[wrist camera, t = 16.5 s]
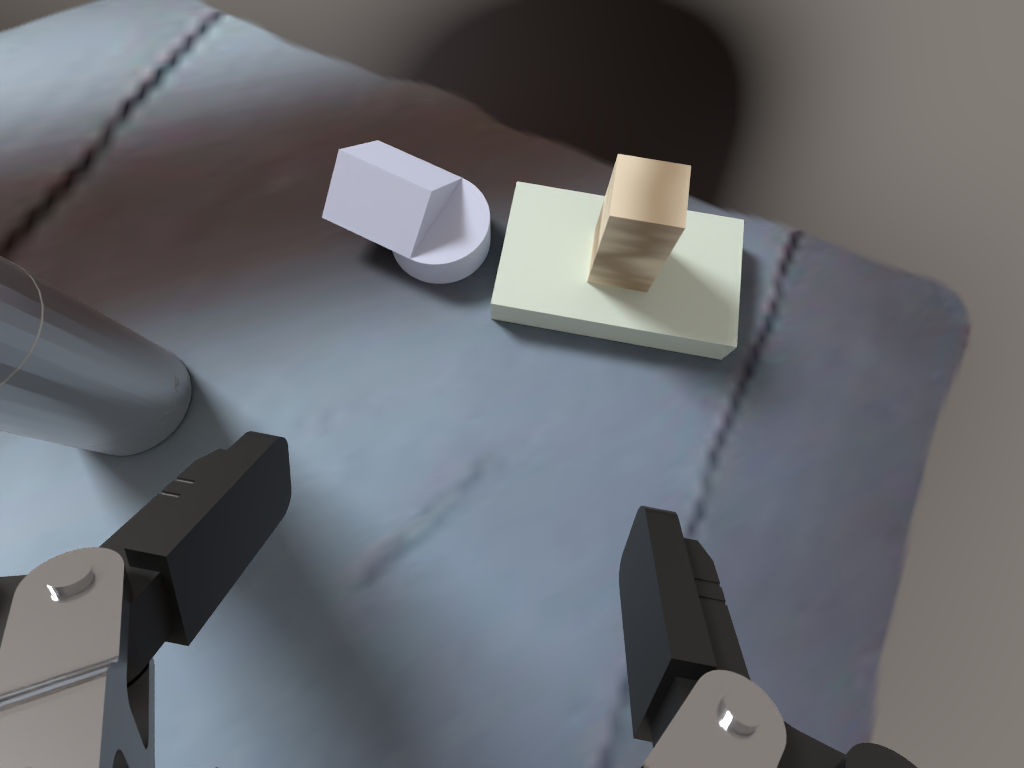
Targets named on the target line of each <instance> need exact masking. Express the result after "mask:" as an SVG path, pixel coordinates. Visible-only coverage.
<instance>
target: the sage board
mask: <svg viewBox="0 0 1024 768" xmlns="http://www.w3.org/2000/svg"><path fill="white" fill-rule="evenodd" d="M604 199H605V196H600V195H594V194H588V193H582V192H576V191H570V190H564V189H558V188H553V187H547V186H541V185H535V184H529V183H523V182H517V184H516V189H515V193H514V198H513V202H512V207H511V212H510V216H509V221H508V226H507V230H506V235H505V240H504V244H503V249H502V254H501V258H500V263H499V268H498V272H497V277H496V281H495V286H494V291H493V295H492V300H491V319H495V320H501V321H506V322H512V323H517V324H523V325H529V326H534V327H540V328H546V329H551V330H557V331H562V332H568V333H574V334H579V335H585V336H590V337H596V338H602V339H607V340H613V341H618V342H624V343H630V344H635V345H641V346H646V347H652V348H658V349H663V350H669V351H675V352H680V353H686V354H691V355H697V356H703V357H708V358H714V359H719V360H722V359H723V358H724V357H725V356H727V355H728V354H729V353H730V352H732V351H733V350H734V349H735V348H737V338H738V320H739V302H740V284H741V266H742V248H743V230H744V220H741V219H735V218H729V217H723V216H718V215H712V214H706V213H700V212H694V211H688V210H687V216H686V227H685V230H684V231H683V233H682V235H681V236H680V238H679V240H678V241H677V243H676V245H675V246H674V248H673V250H672V252H671V253H670V255H669V257H668V258H667V260H666V262H665V263H664V265H663V267H662V268H661V270H660V272H659V273H658V275H657V277H656V278H655V280H654V282H653V283H652V285H651V287H650V288H649V290H648V292H642V291H636V290H630V289H624V288H618V287H613V286H607V285H601V284H595V283H589V282H587V278H588V272H589V265H590V258H591V252H592V245H593V238H594V232H595V228H596V225H597V221H598V218H599V215H600V212H601V208H602V205H603V202H604Z"/></svg>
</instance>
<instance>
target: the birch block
mask: <svg viewBox="0 0 1024 768" xmlns="http://www.w3.org/2000/svg"><path fill="white" fill-rule="evenodd" d="M690 171H691V166H689V165H683V164H676V163H670V162H664V161H658V160H652V159H645V158H640V157H633V156H627V155H621V154H618V156H617V160H616V163H615V166H614V169H613V173H612V176H611V179H610V182H609V186H608V189H607V192H606V195H605V199H604V202H603V205H602V208H601V212H600V215H599V218H598V221H597V225H596V228H595V232H594V238H593V245H592V252H591V258H590V265H589V272H588V278H587V282H589V283H595V284H601V285H607V286H613V287H618V288H624V289H630V290H636V291H642V292H648V290H649V288H650V287H651V285H652V283H653V282H654V280H655V278H656V277H657V275H658V273H659V272H660V270H661V268H662V267H663V265H664V263H665V262H666V260H667V258H668V257H669V255H670V253H671V252H672V250H673V248H674V246H675V245H676V243H677V241H678V240H679V238H680V236H681V235H682V233H683V231H684V230H685V227H686V216H687V205H688V193H689V181H690Z"/></svg>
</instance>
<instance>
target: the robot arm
mask: <svg viewBox="0 0 1024 768" xmlns="http://www.w3.org/2000/svg"><path fill="white" fill-rule="evenodd" d="M191 387H192V386H191V381H190V376H189V373H188V371H187V369H186V367H185V365H184V364H183V363H182V362H181V361H180V359H179V358H178V357H176V356H175V355H173V354H172V353H171V352H169V351H167V350H166V349H164V348H162V347H160V346H159V345H157V344H155V343H153V342H152V341H150V340H148V339H146V338H145V337H143V336H141V335H140V334H138V333H136V332H134V331H133V330H131V329H129V328H127V327H126V326H124V325H122V324H120V323H118V322H117V321H115V320H113V319H111V318H110V317H108V316H106V315H104V314H103V313H101V312H99V311H97V310H95V309H94V308H92V307H90V306H88V305H87V304H85V303H83V302H81V301H80V300H78V299H76V298H74V297H72V296H71V295H69V294H67V293H65V292H64V291H62V290H60V289H58V288H57V287H55V286H53V285H51V284H49V283H48V282H46V281H44V280H42V279H41V278H39V277H37V276H35V275H33V274H32V273H30V272H28V271H26V270H25V269H23V268H21V267H19V266H18V265H16V264H14V263H12V262H10V261H8V260H6V259H5V258H3V257H1V256H0V431H3V432H7V433H12V434H17V435H21V436H26V437H31V438H35V439H40V440H44V441H49V442H54V443H58V444H63V445H67V446H71V447H76V448H81V449H85V450H90V451H95V452H100V453H105V454H109V455H114V456H121V455H132V454H136V453H141V452H143V451H146V450H148V449H150V448H153V447H154V446H156V445H157V444H159V443H161V442H162V441H164V440H165V439H166V438H167V437H168V436H169V435H170V434H171V433H173V432H174V431H175V429H176V428H177V427H178V425H179V424H180V423H181V421H182V420H183V418H184V416H185V414H186V412H187V410H188V407H189V403H190V399H191ZM290 499H291V478H290V465H289V452H288V443H287V441H286V439H285V438H283V437H279V436H274V435H268V434H263V433H258V432H252V431H250V432H247V433H245V434H244V435H243V436H242V437H241V438H240V439H239V440H238V441H237V442H236V443H235V444H234V445H232V446H231V447H230V448H229V449H228V450H223V449H219V450H217V451H215V452H213V453H211V454H209V455H207V456H205V457H203V458H201V459H199V460H197V461H195V462H194V463H193V464H191V465H190V466H189V467H188V468H187V469H186V470H185V471H184V472H183V473H181V474H180V475H179V476H178V477H177V480H176V481H172V482H171V483H170V484H169V485H168V486H167V487H166V488H165V489H164V490H162V494H161V495H160V494H158V495H157V496H156V497H155V498H154V499H152V500H151V501H150V502H149V503H148V504H147V505H146V506H145V507H143V508H142V509H141V510H140V511H139V512H138V513H137V514H136V515H135V516H133V517H132V518H131V519H130V520H129V521H128V522H127V523H126V524H124V525H123V526H122V527H121V528H120V529H119V530H118V531H117V532H116V533H114V534H113V535H112V536H111V537H110V538H109V539H108V540H107V541H105V542H104V543H103V544H102V545H101V546H100V547H92V548H83V549H77V550H73V551H70V552H66V553H64V554H61V555H58V556H56V557H54V558H52V559H50V560H48V561H46V562H44V563H43V564H41V565H39V566H38V567H37V568H35V569H34V570H32V571H31V572H30V573H29V574H28V575H21V576H8V577H0V768H155V665H154V659H153V656H154V655H155V654H156V652H157V651H158V650H159V648H160V647H161V646H162V645H163V643H164V642H165V641H166V642H171V643H176V644H181V645H186V646H189V645H190V643H191V642H192V640H193V639H194V638H195V636H196V635H197V634H198V632H199V631H200V630H201V628H202V627H203V626H204V624H205V623H206V621H207V620H208V619H209V617H210V616H211V615H212V613H213V612H214V611H215V609H216V608H217V607H218V605H219V604H220V603H221V601H222V600H223V598H224V597H225V596H226V594H227V593H228V592H229V590H230V589H231V588H232V586H233V585H234V584H235V582H236V581H237V579H238V578H239V577H240V575H241V574H242V573H243V571H244V570H245V569H246V567H247V566H248V565H249V563H250V562H251V560H252V559H253V558H254V556H255V555H256V554H257V552H258V551H259V550H260V548H261V547H262V546H263V544H264V543H265V541H266V540H267V539H268V537H269V536H270V535H271V533H272V532H273V531H274V529H275V528H276V527H277V525H278V524H279V522H280V521H281V520H282V518H283V517H284V515H285V513H286V511H287V509H288V506H289V503H290ZM719 584H720V582H719V578H718V575H717V572H716V569H715V565H714V562H713V560H712V559H711V558H710V556H709V555H708V554H707V552H706V551H705V550H704V548H703V547H702V546H701V544H700V543H699V542H698V541H697V540H692V539H686V538H683V534H682V530H681V526H680V522H679V518H678V515H677V514H676V513H675V512H672V511H667V510H662V509H656V508H651V507H646V506H641V507H640V508H639V509H638V511H637V514H636V517H635V520H634V522H633V525H632V528H631V531H630V534H629V537H628V540H627V543H626V546H625V549H624V551H623V554H622V558H621V563H620V571H619V588H620V598H621V609H622V620H623V630H624V641H625V652H626V662H627V673H628V684H629V694H630V705H631V716H632V726H633V737H634V738H635V739H640V740H645V741H650V742H652V743H653V750H652V751H651V753H650V754H649V756H648V758H647V759H646V761H645V762H644V763H643V765H642V766H641V768H917V767H916V766H915V765H914V764H912V763H911V762H910V761H908V760H907V759H906V758H904V757H903V756H901V755H900V754H898V753H896V752H895V751H892V750H890V749H888V748H886V747H883V746H881V745H878V744H873V743H861V744H857V745H855V746H854V747H852V748H851V749H850V750H849V751H848V753H847V754H846V755H845V754H843V753H841V752H839V751H837V750H835V749H833V748H831V747H829V746H827V745H825V744H823V743H821V742H819V741H818V740H816V739H814V738H812V737H810V736H808V735H806V734H804V733H802V732H800V731H798V730H797V729H795V728H793V727H791V726H790V725H789V724H787V723H786V722H784V721H783V719H782V717H781V714H780V712H779V711H778V709H777V707H776V706H775V704H774V703H773V701H772V700H771V699H770V698H769V696H768V695H767V694H766V693H765V692H764V691H763V690H762V689H761V688H760V687H758V686H757V685H756V684H755V683H753V682H752V681H751V680H750V677H749V674H748V671H747V668H746V665H745V662H744V658H743V655H742V652H741V649H740V646H739V642H738V639H737V636H736V633H735V630H734V626H733V623H732V620H731V617H730V614H729V610H728V607H727V605H725V598H724V594H723V591H722V588H721V587H720V586H719ZM216 768H217V767H216Z"/></svg>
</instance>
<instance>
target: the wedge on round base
mask: <svg viewBox="0 0 1024 768" xmlns="http://www.w3.org/2000/svg"><path fill="white" fill-rule="evenodd" d="M322 218H324V219H326V220H328V221H331V222H333V223H335V224H337V225H339V226H341V227H343V228H345V229H348V230H350V231H352V232H354V233H356V234H358V235H360V236H362V237H364V238H367V239H369V240H371V241H373V242H375V243H377V244H379V245H381V246H384V247H386V248H388V249H390V250H392V252H393V255H394V257H395V259H396V261H397V263H398V264H399V265H400V267H401V268H402V269H403V270H404V271H405V272H407V273H408V274H409V275H411V276H412V277H414V278H416V279H418V280H421V281H424V282H428V283H434V284H445V283H452V282H456V281H459V280H461V279H464V278H465V277H467V276H469V275H471V274H472V273H473V272H475V271H476V270H477V269H478V268H479V267H480V266H481V264H482V263H483V262H484V260H485V258H486V257H487V254H488V252H489V248H490V240H491V237H490V212H489V207H488V204H487V202H486V199H485V198H484V196H483V194H482V193H481V192H480V191H479V189H478V188H476V187H475V186H474V185H473V184H472V183H470V182H469V181H467V180H465V179H463V178H461V177H459V176H457V175H454V174H452V173H450V172H448V171H445V170H443V169H441V168H439V167H436V166H434V165H432V164H430V163H428V162H425V161H423V160H421V159H419V158H416V157H414V156H412V155H410V154H407V153H405V152H403V151H401V150H398V149H396V148H394V147H392V146H389V145H387V144H385V143H383V142H380V141H373V142H369V143H365V144H360V145H356V146H352V147H347V148H343V149H339V152H338V156H337V160H336V164H335V168H334V172H333V176H332V180H331V184H330V188H329V192H328V196H327V200H326V204H325V208H324V212H323V216H322Z"/></svg>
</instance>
